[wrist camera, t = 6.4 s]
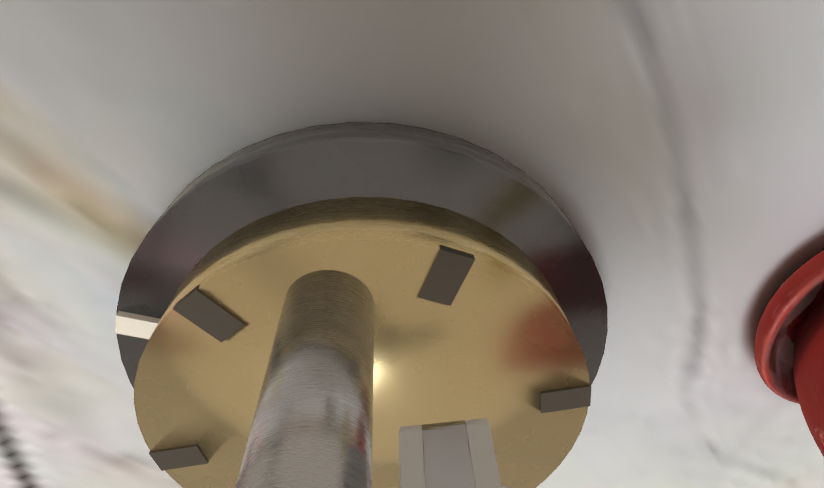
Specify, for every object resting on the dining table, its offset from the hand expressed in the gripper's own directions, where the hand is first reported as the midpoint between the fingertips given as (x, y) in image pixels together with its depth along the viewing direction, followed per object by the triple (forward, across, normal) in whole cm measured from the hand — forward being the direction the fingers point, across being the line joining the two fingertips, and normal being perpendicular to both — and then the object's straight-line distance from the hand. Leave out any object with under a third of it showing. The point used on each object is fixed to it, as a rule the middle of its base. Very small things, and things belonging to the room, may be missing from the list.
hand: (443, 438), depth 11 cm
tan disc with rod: (+9, +3, +7) cm, 12 cm away
